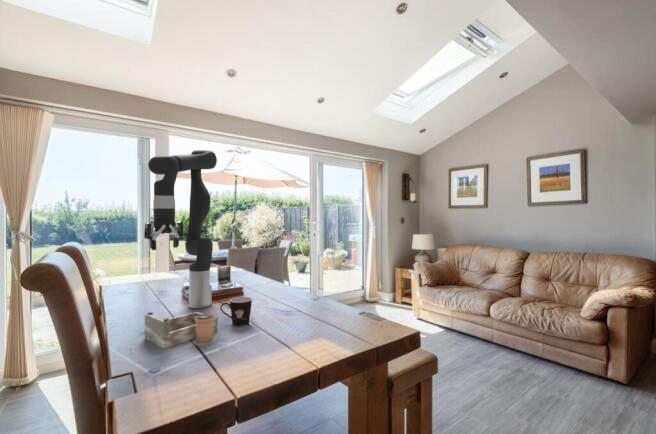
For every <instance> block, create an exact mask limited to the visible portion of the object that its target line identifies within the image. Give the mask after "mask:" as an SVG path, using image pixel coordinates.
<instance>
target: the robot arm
mask: <svg viewBox="0 0 656 434" xmlns="http://www.w3.org/2000/svg"><path fill="white" fill-rule="evenodd" d="M217 161H218V158H217V155H216V153H215V152H214V151H212V150H211V149H210V150H209V149H202V150H200V149H195V150H192V151H191V153H190V154H173V155H165V156H164V155H163V156H161V155H160V156H156V155H155V156H153V157H151V158H150V159H149V160H148V164H147V165H148V169H149V172H151V173H152V174H155V175H163V177H162V179H159V180H156V181H155V182H154V184H153V209H152V210H153V223H152V222H145V223H144V233H143V234H144V235H143V236H144V237H143V238H144V239H146V240H149V248H150V249H151V250H152V251H157V240H156V239H157V238H158V237H159V236H160V235H163V234H170V235H171V236H172V238H173V239H172V247H173V249H175V248H176V249H177V248H178V247H179V246H180V238H181V237H184V234H185V233H184V223H183V221H176V200H175V183H176V180H177V176H178V174H179V173H181V172H186V171H190V193H189V212H188V213H189V214H188V227H187V233H186V240H185V250H186V252H187V254H188V255H190V256H195V257H196V260H195V262H192V263H190V264H189V266H188V267H189V269H188V270H189V271H188V272H189V275H188V276H189V277H188V278H189V279H188V282H189V284H188V285H189V286H188V307H189V308H191V309H202V308H206V307H210V306H211V305H212V303H213V301H212V295H213V294H212V293H213V291H212V290H213V289H212V288H213V287H212V284H211V265H212V261H213V241H212V240H211V238H209V237H207V236H202V234H201V232H202V227H203V224H204V222H205V220H206V219H207V217H208V215H209V213H210V212H211V211H210V210H211V194H210V192H209V190H208V189H207V187H206V185H205V183H204V181H203V178H202V170H211V169H214V168H215V167H216V166H217V164H218V163H217ZM153 228H154V230H153V231H152V229H153ZM176 230H177V231H176Z"/></svg>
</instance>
